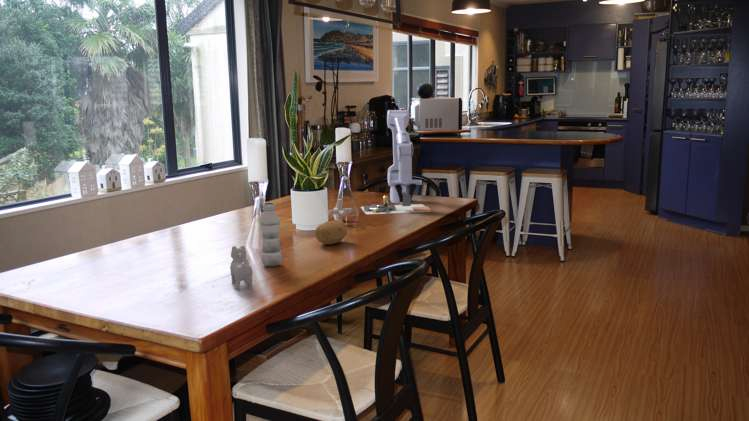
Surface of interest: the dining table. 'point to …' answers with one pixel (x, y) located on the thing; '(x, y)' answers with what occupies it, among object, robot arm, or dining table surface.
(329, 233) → the potato
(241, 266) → the dog figurine
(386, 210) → the sprocket
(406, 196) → the grey rectangular block
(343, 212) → the pipe connector
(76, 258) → the dining table surface
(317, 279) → the dining table surface
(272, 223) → the grey tiered tower
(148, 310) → the dining table surface
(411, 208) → the board
